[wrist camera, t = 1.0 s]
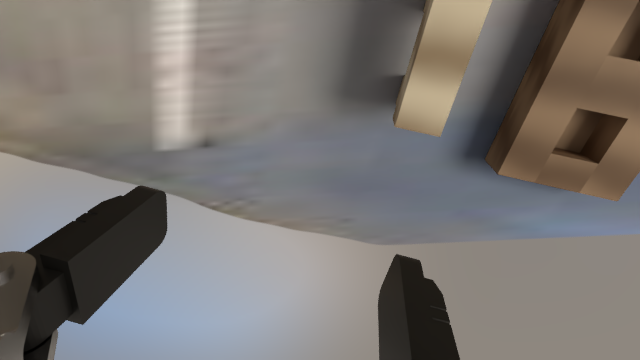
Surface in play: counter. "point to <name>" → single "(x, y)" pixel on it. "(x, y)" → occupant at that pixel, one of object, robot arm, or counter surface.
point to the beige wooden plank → (438, 63)
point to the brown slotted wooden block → (578, 103)
